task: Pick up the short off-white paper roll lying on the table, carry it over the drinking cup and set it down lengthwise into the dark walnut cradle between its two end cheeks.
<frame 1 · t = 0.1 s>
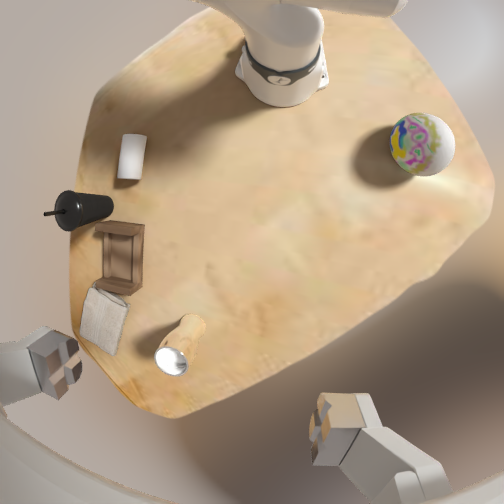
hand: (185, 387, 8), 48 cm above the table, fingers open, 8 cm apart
washcloth: (106, 318, 63), on the table
silver tumbler: (193, 325, 60), on the table
cradle: (125, 253, 58), on the table
drinking cup: (105, 206, 57), on the table
roll: (131, 157, 51), point 2 cm above the table
decorative egg: (407, 148, 49), on the table
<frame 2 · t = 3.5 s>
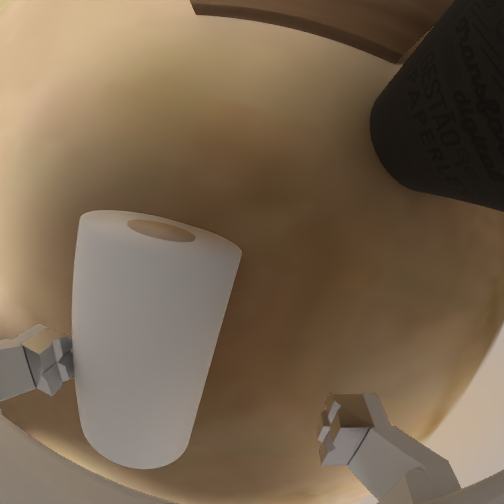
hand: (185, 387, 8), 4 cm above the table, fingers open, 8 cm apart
drinking cup: (417, 137, 10), on the table
roll: (140, 350, 9), point 2 cm above the table, tilted 39°, touching gripper
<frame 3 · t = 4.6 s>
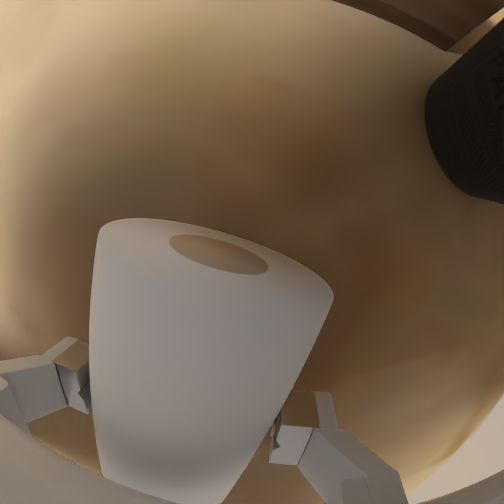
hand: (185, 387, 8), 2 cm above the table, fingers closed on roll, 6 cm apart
drinking cup: (470, 135, 7), on the table
roll: (180, 399, 7), point 3 cm above the table, tilted 33°, touching gripper
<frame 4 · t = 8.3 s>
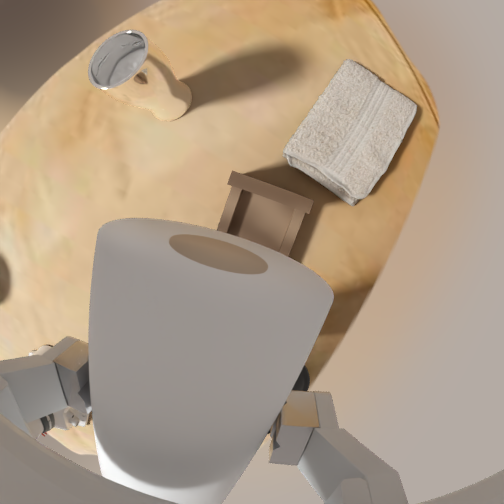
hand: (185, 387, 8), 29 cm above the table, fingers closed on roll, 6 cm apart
washcloth: (351, 130, 33), on the table
silver tumbler: (171, 101, 33), on the table
cradle: (254, 239, 36), on the table
roll: (180, 399, 7), point 29 cm above the table, tilted 33°, touching gripper
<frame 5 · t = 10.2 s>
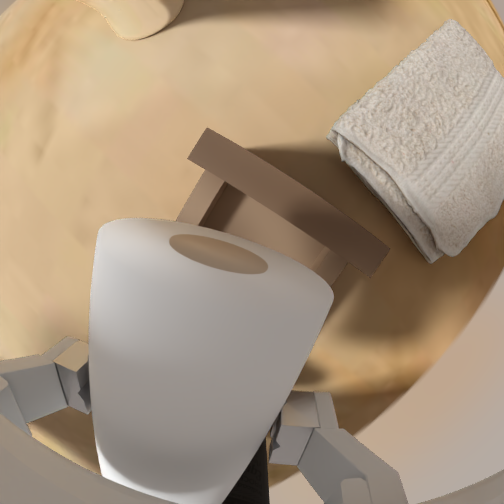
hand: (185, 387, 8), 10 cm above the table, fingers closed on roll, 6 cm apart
washcloth: (446, 127, 15), on the table
silver tumbler: (148, 12, 14), on the table
cradle: (232, 282, 18), on the table
drinking cup: (235, 414, 21), on the table
roll: (180, 399, 7), point 11 cm above the table, tilted 33°, touching gripper
when the fingers open (5 cm above the table, at t = 12.0 s): roll drops 1 cm, resting on cradle.
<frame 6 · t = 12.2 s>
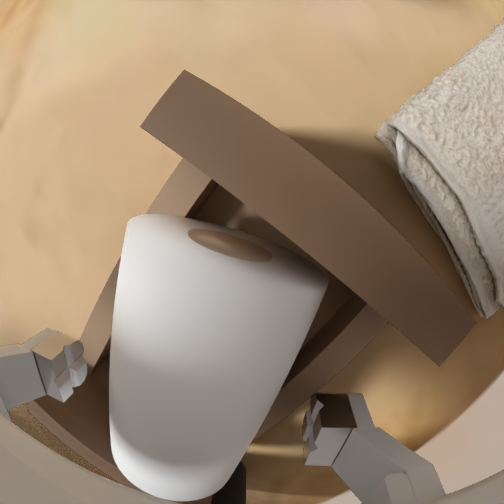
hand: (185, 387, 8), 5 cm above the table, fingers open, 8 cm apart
cradle: (216, 323, 12), on the table
drinking cup: (211, 464, 15), on the table
roll: (191, 379, 8), point 4 cm above the table, tilted 32°, touching cradle
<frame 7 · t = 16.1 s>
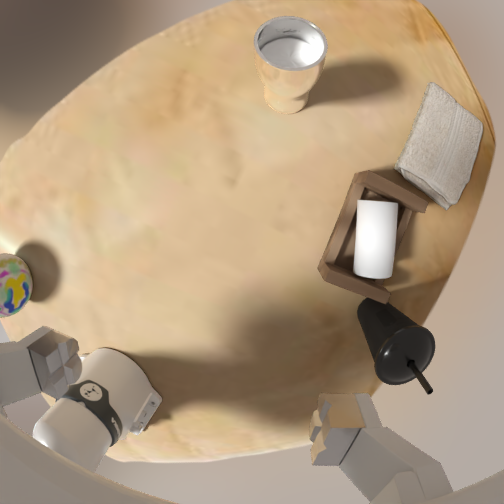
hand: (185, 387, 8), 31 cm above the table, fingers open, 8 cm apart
washcloth: (438, 145, 34), on the table
silver tumbler: (286, 94, 34), on the table
cradle: (365, 233, 37), on the table
drinking cup: (371, 310, 39), on the table
roll: (375, 237, 33), point 4 cm above the table, tilted 32°, touching cradle
decorative egg: (22, 277, 44), on the table
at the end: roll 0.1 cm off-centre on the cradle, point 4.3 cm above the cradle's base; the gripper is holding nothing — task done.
